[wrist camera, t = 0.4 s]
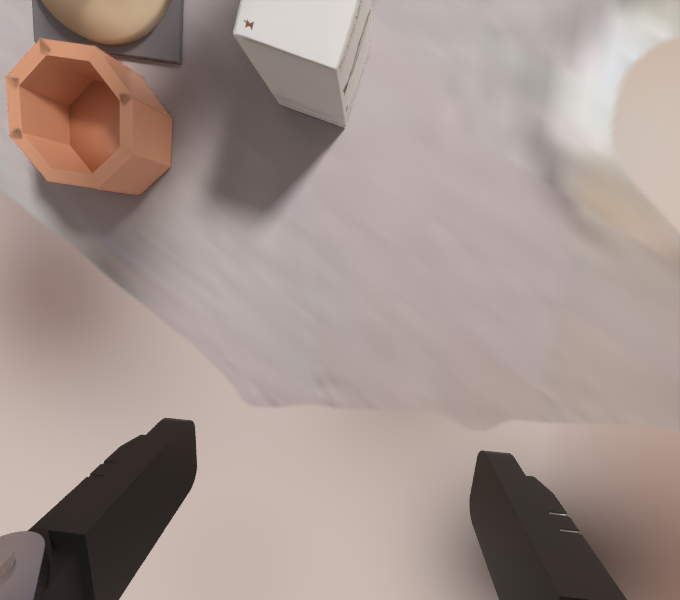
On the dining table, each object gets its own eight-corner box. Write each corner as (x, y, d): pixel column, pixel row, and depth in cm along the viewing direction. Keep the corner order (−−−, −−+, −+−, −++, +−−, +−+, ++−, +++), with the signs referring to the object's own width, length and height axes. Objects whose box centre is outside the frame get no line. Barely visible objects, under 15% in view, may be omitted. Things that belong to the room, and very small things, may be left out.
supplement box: (346, 130, 33) (335, 75, 21) (277, 105, 33) (226, 34, 21) (372, 51, 32) (377, -60, 19) (300, 24, 32) (259, -105, 19)
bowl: (64, 65, 34) (1, 31, 28) (174, 81, 33) (134, 50, 28) (68, 184, 37) (11, 176, 31) (170, 200, 36) (133, 195, 30)
